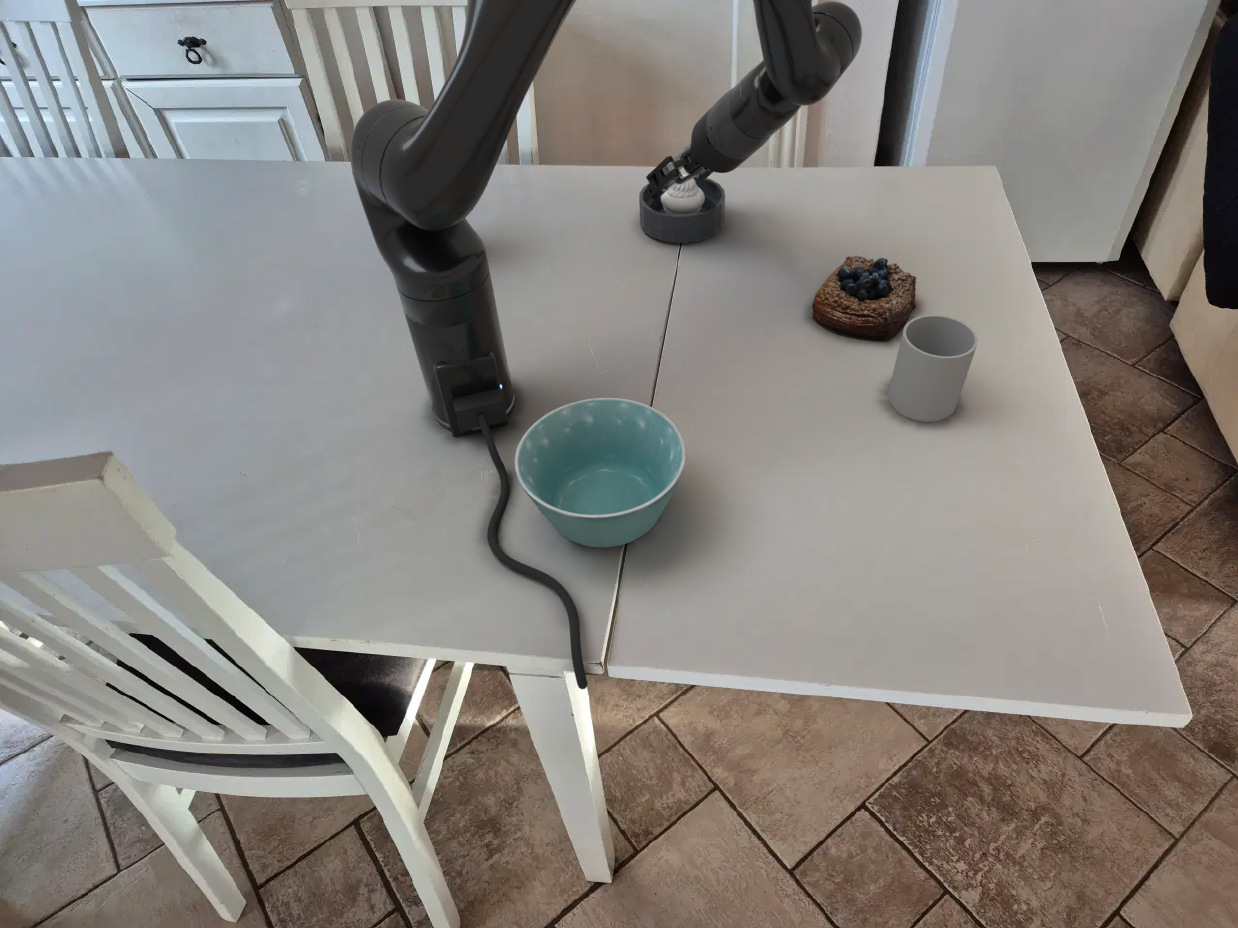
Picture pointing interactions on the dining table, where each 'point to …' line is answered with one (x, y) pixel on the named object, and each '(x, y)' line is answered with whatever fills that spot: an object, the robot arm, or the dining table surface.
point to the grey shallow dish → (684, 216)
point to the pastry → (865, 300)
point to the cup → (931, 367)
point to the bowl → (601, 469)
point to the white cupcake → (683, 199)
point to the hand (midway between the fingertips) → (675, 183)
